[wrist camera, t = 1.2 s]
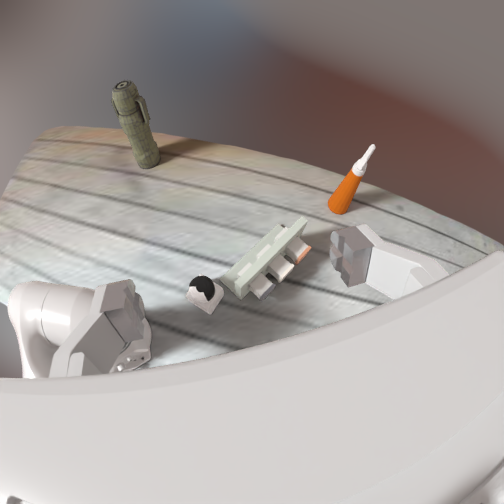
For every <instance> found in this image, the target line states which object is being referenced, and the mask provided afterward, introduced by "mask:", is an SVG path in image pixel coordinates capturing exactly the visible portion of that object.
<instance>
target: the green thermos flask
mask: <svg viewBox="0 0 504 504" xmlns="http://www.w3.org/2000/svg"><path fill="white" fill-rule="evenodd" d="M112 92H113V93H112V95H113V96H112V97H113V98H112V100H111V102H112V105H113V108H114V110H115V112H116V115H117V117H118V118H119V121H120V123H121V126H122V128H123V131H124V133H125V134H126V135H127V137H128V139H129V141H130V144H131V146H132V148H133V154H134V157H135V159H136V161H137V163H138V165H139V166H140V167H141V168H143V169H150V168H153V167H154V166H156V165H157V164H158V163H159V161H160V154H159V150H158V147H157V144H156V142H155V141H154V140H153V137H152V133H151V130H150V127H149V120H150V117H149V114H148V110H147V107H146V103H145V99H143V97H142V96H139V94H138V90H137V87H136V86H135V84H134V83H133V82H132V81H131V80H125V81H121V82H119V83H118V84H116V85H115V86H114V87H113V90H112Z"/></svg>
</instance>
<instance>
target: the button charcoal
mask: <svg viewBox="0 0 504 504" xmlns="http://www.w3.org/2000/svg"><path fill="white" fill-rule="evenodd" d="M251 265H252V264H251V263H250V262H249V263H248V264H247V265H246V266H245V267H244V268H243V269H242V270H241V271H240V272H239V273H237V277H238V278H239V277H240V276H241V275H242V274H243V273H244V272H245V271H246V270H247V269H248V268H249V267H250V266H251ZM275 286H276V285H275V284H274V283H272V282H270V281H269V280H268V279H267V278H266V277H265V276H264V275H263V274H262V273H260V274H259V275H258V276H257V277H256V278H255V279H254V280H253V281H252V282H251V283H250V284H249V285H248V289H249V290H251V291H252V292H253V293H254V294H255V295H256V296H257V297H258V298H259V300H260V301H261V302H262V301H263V300H264V299H265V298H266V297H267V296H268V295H269V294H270V293H271V292H272V291H273V290H274V288H275Z"/></svg>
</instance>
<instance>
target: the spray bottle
mask: <svg viewBox="0 0 504 504" xmlns="http://www.w3.org/2000/svg"><path fill="white" fill-rule="evenodd" d="M374 150H375V145H374V144H372V145H371V146H370V147H369V149H368V150H367V151H366V153H365V154H364V156H363V157H362V159H359V160H358V161H357V162H356V163H355V164H354V166H353V168H352V169H351V170H350V172H349V173H348V174H347V176H346V177H345V178H344V180H343V181H342V182H341V184H340V185H339V186H338V188H337V189H336V190H335V192H334V193H333V195H332V196H331V197H330V199H329V201H328V206H329V208H330V210H331V211H332V212H334V213H336V214H344V213H345V212H346V211H347V209H348V207H349V205H350V203H351V201H352V199H353V196H354V194H355V192H356V190H357V188H358V185H359V183H360V181H361V179H362V176H363V174H364V172H365V170H366V166H367V161H368V159H369V157H370V156H371V154H372V153H373V151H374Z"/></svg>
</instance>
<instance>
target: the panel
mask: <svg viewBox="0 0 504 504" xmlns="http://www.w3.org/2000/svg"><path fill="white" fill-rule="evenodd" d="M307 222H308V220H306V219H305V218H304V217H303V216H301V217H300V218H299V219H298V220H297V221H296V222H295V223H294V224H293V225H292V226H291V227H290V228H289V229H288V230H287V231H286V232H285V233H284V234H283V235H282V236H281V237H280V238H279V239H278V240H277V241H276V242H275V243H274V240H275V237H276V236H277V235H278V234H279V233H280V232H281V231H282V230H283V229H284V228H283V227H282V226H281V225H280V224H277V225H276V226H275V227H274V228H273V229H272V230H271V231H270V232H269V233H267V234H266V235H265V236H264V237H263V238H262V239H261V240H260V241H259V242H258V243H257V244H256V245H255V246H254V247H253V248H252V249H251V250H250V251H249V252H247V253H246V254H245V255H244V256H243V257H242V258H241V259H240V260H239V261H238V262H237V263H236V264H235V265H234V266H233V267H232V268H231V269H230V270H229V271H228V272H226V273H225V274H224V275H223V276H222V277H221V278H220V281H221V282H222V283H223V284H224V285H225V286H226V287H227V288H228V289H229V290H230V291H232V292H233V293H234V294H235V295H236V296H237V297H238V298H239V299H240V300H241V299H242V298H243V297H244V296H245V295H246V294H247V293H248V292H249V291H250V290H249V289H248V285H249V284H250V283H251V282H252V281H253V280H254V279H255V278H256V277H257V276H258V275H259V274H260V273H262V274H263V275H264V276H265V275H266V274H267V273H268V271H267V266H268V265H269V264H270V263H271V262H272V261H273V260H274V259H275V258H276V257H277V256H278V255H279V254H280V255H282V256H283V257H284V256H285V255H286V254H285V253H284V251H285V249H286V247H287V246H288V245H289V244H290V243H291V242H292V241H293V240H294V239H295V238H296V237H299V238H300V236H301V234H302V232H303V230H304V228H305V226H306V224H307ZM267 244H269V245H270V246H271V247H270V248H269V249H268V250H267V251H266V252H265V253H264V254H263V255H262V256H261V257H260V258H259V259H258V260H257V261H256V258H257V254H258V253H259V252H260V251H261V250H262V249H263V248H264V247H265V246H266V245H267ZM249 262H250V263H251V264H252V265H251V266H250V267H249V268H248V269H247V270H246V271H245V272H244V273H243V274H242V275H241V276H240V277H239V278H238V277H237V273H239V272H240V271H241V270H242V269H243V268H244V267H245V266H246V265H247V264H248V263H249Z"/></svg>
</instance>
